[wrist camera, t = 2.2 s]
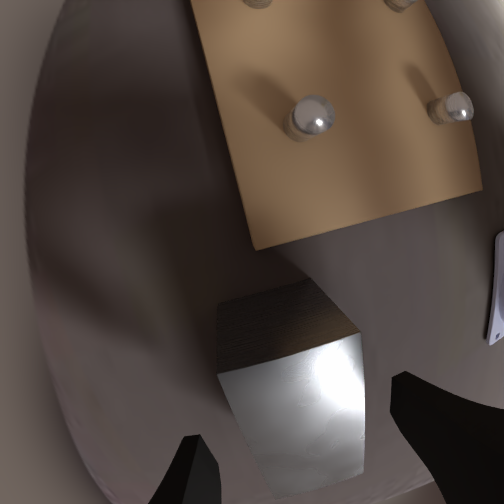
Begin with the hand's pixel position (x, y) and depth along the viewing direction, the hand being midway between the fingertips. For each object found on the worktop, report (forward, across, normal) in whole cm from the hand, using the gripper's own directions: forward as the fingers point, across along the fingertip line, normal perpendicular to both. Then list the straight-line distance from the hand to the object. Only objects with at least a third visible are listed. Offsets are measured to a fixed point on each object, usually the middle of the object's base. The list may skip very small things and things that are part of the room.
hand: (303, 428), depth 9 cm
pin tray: (+4, -6, -13) cm, 15 cm away
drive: (+4, 0, 0) cm, 4 cm away
